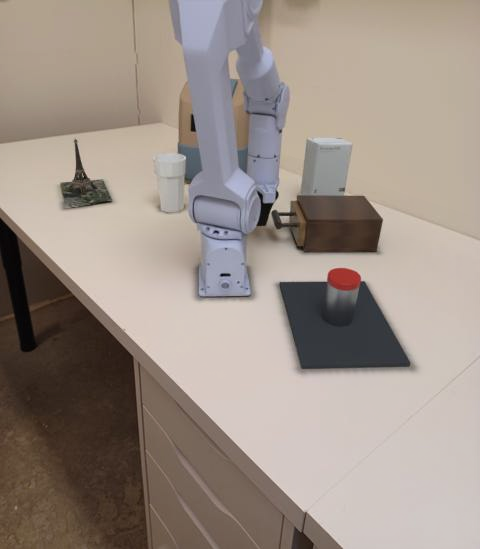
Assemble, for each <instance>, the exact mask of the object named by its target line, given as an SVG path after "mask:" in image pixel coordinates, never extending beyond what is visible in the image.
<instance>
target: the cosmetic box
mask: <svg viewBox="0 0 480 549" xmlns="http://www.w3.org/2000/svg"><path fill="white" fill-rule="evenodd" d="M353 146H354V145H353V142H351V141H349V140H346V139H344V138H342V137H307V138H306V142H305V151H304V160H303V168H302V177H301V185H300V193H299V195H332V196H345V192H346V185H347V181H348V180H347V179H348V174H349V167H350V164H351V163H350V162H351V156H352V151H353V150H352V149H353Z"/></svg>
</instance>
